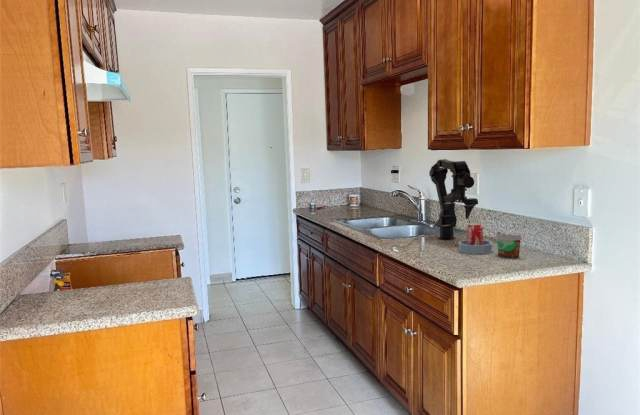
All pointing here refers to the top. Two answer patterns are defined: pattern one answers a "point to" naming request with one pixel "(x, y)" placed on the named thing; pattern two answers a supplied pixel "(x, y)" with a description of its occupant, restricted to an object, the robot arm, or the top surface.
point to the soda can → (474, 234)
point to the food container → (508, 245)
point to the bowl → (475, 247)
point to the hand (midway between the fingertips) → (459, 218)
